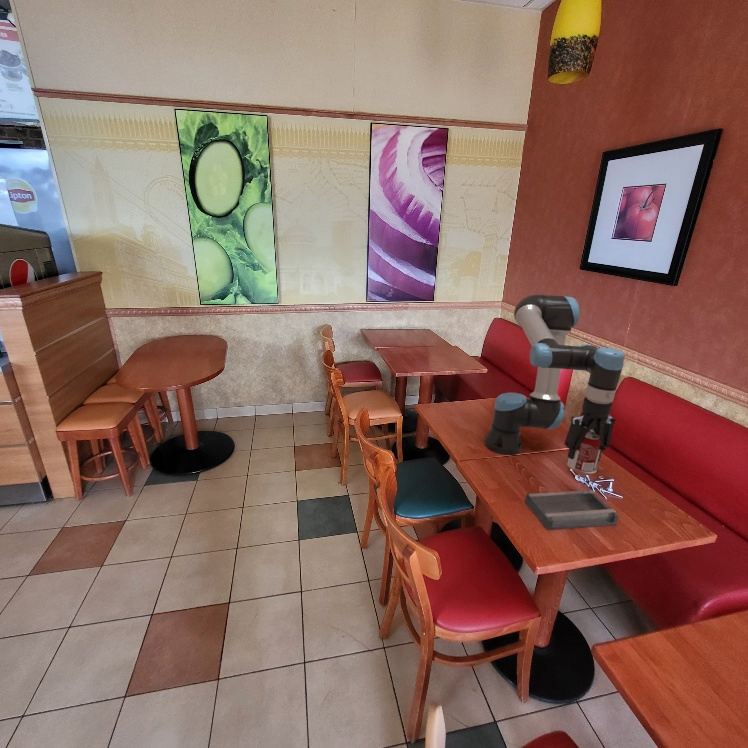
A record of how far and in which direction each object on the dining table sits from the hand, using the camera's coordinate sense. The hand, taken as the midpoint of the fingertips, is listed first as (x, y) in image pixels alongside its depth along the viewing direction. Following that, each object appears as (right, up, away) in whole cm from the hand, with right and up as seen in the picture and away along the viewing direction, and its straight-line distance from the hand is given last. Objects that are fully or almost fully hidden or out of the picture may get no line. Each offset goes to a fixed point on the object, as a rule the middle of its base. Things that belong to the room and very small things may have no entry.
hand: (581, 466), depth 128 cm
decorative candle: (+18, -8, +33) cm, 38 cm away
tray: (-1, -17, +5) cm, 18 cm away
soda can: (0, -1, 0) cm, 1 cm away
